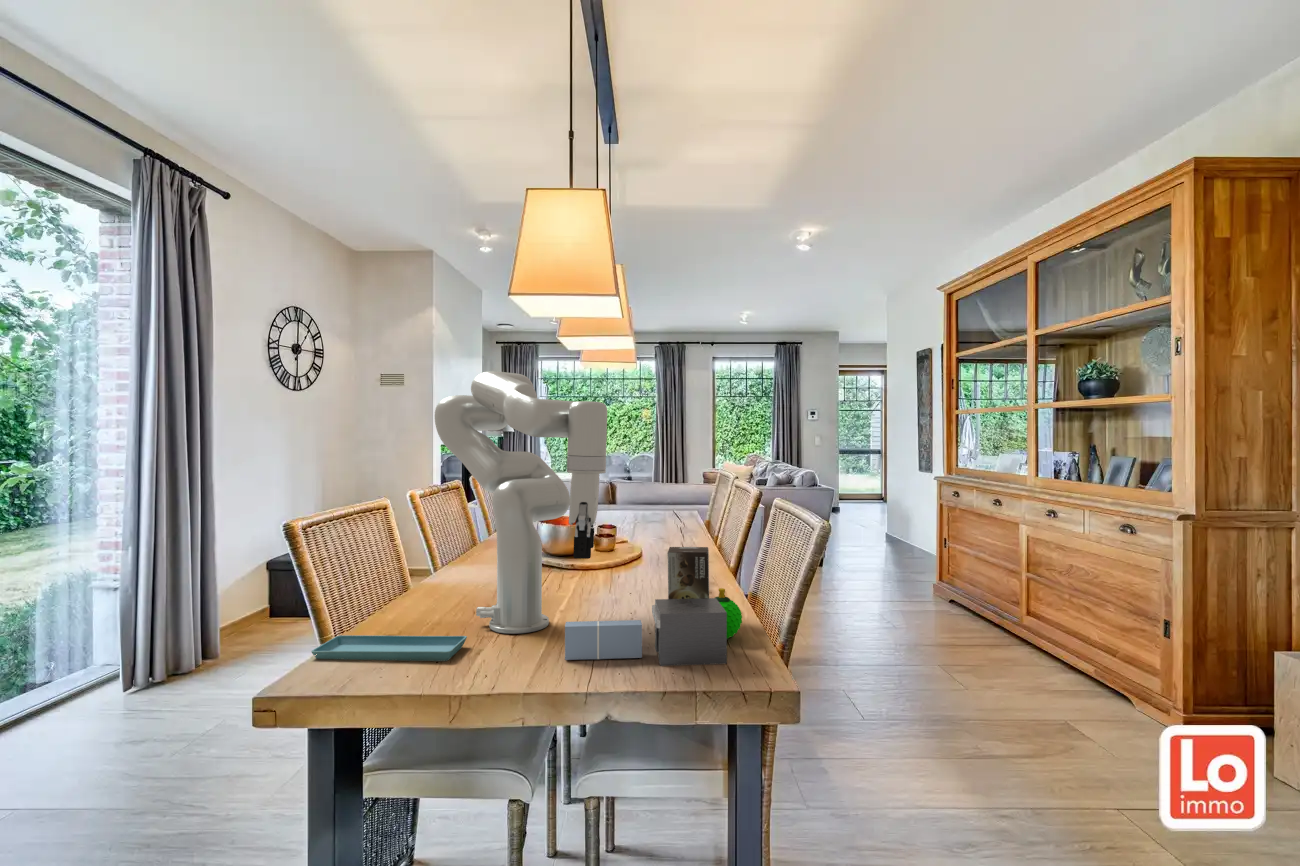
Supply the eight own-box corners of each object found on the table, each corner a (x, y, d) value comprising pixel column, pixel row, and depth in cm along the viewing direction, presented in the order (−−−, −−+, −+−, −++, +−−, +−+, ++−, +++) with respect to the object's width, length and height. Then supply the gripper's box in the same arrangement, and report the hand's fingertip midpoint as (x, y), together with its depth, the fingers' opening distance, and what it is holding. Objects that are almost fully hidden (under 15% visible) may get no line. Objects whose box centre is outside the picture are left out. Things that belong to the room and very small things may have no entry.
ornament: (699, 632, 128) (699, 584, 128) (737, 631, 128) (737, 584, 128) (705, 645, 120) (705, 594, 120) (746, 644, 120) (746, 593, 120)
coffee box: (709, 618, 138) (709, 546, 138) (709, 626, 132) (709, 551, 132) (669, 616, 139) (669, 545, 139) (667, 625, 133) (667, 550, 133)
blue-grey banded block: (564, 660, 111) (565, 626, 111) (565, 654, 114) (565, 621, 114) (641, 658, 112) (642, 624, 112) (640, 652, 115) (640, 619, 115)
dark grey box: (656, 665, 109) (656, 614, 109) (651, 647, 119) (652, 599, 119) (726, 663, 110) (726, 612, 110) (716, 645, 120) (716, 598, 120)
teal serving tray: (309, 662, 112) (309, 648, 112) (337, 645, 121) (337, 633, 121) (450, 665, 110) (450, 651, 110) (467, 648, 119) (468, 635, 119)
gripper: (571, 461, 127) (569, 543, 127) (562, 467, 110) (559, 562, 110) (607, 462, 128) (605, 544, 128) (604, 468, 110) (601, 563, 110)
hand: (584, 552), depth 119 cm, fingers open, 9 cm apart
